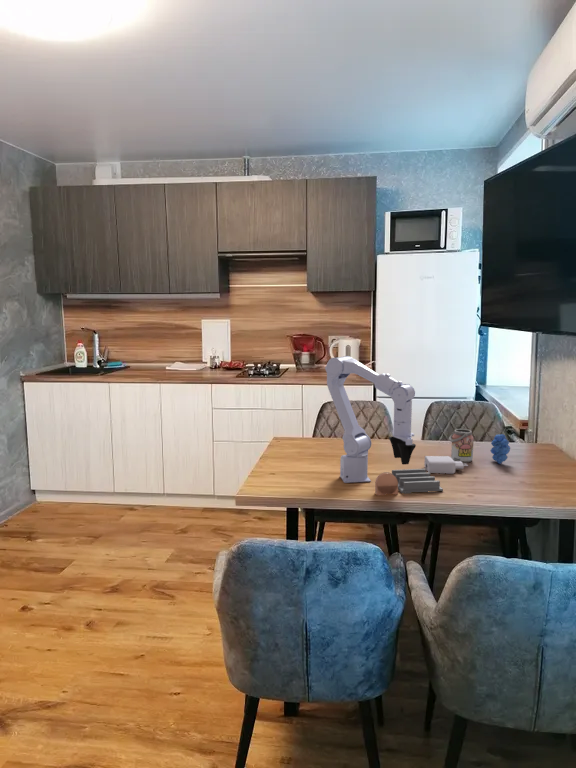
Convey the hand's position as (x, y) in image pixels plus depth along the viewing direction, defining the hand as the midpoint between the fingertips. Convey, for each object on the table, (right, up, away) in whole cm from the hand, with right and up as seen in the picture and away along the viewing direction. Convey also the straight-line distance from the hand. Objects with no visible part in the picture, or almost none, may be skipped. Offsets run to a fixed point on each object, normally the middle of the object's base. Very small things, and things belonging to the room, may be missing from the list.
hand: (401, 460), depth 184 cm
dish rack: (+5, -9, +4) cm, 11 cm away
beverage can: (+30, -5, +34) cm, 46 cm away
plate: (-6, -10, -4) cm, 12 cm away
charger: (+21, -7, +21) cm, 31 cm away
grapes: (+45, -5, +29) cm, 54 cm away
